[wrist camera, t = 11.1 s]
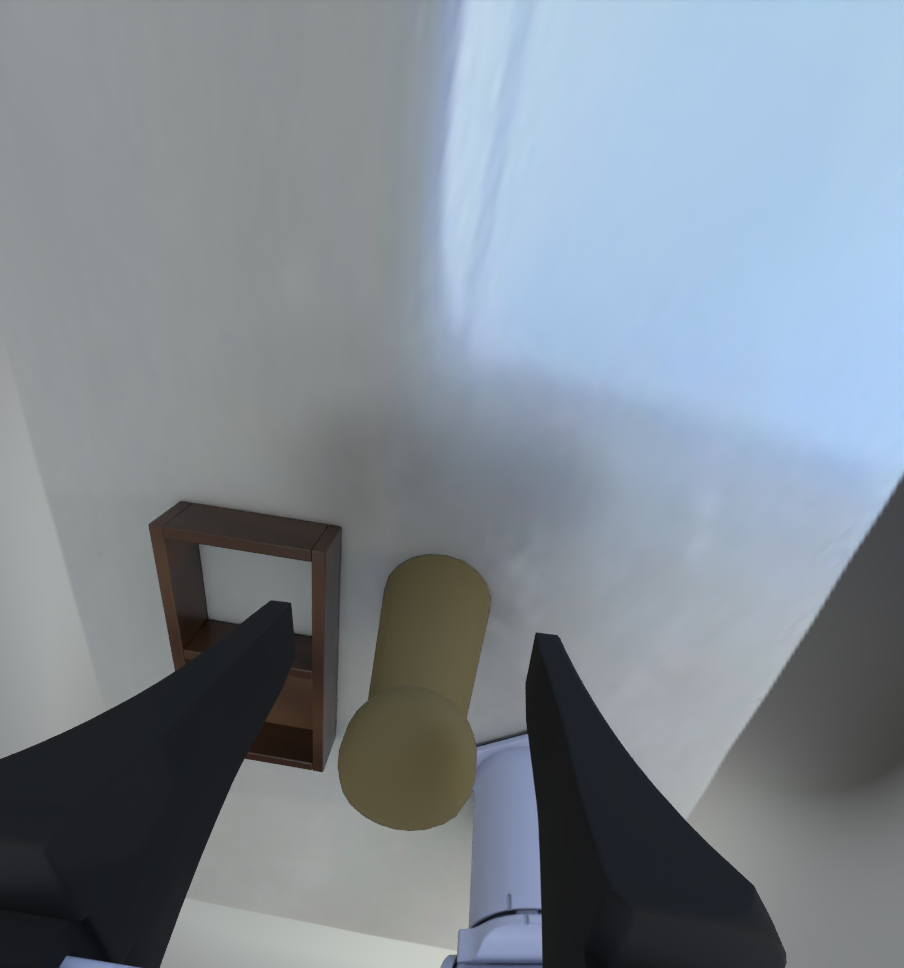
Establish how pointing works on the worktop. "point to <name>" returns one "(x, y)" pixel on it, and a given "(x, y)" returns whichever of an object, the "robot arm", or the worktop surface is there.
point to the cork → (419, 698)
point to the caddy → (313, 675)
